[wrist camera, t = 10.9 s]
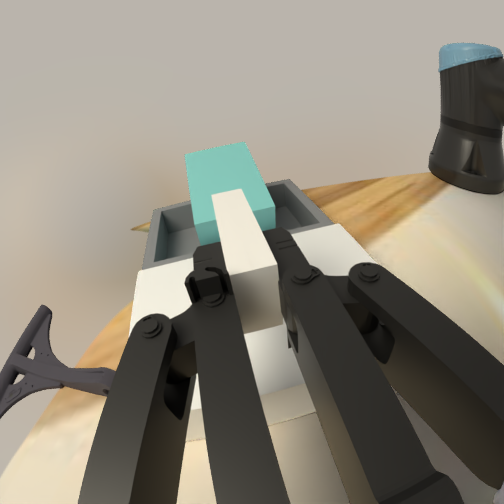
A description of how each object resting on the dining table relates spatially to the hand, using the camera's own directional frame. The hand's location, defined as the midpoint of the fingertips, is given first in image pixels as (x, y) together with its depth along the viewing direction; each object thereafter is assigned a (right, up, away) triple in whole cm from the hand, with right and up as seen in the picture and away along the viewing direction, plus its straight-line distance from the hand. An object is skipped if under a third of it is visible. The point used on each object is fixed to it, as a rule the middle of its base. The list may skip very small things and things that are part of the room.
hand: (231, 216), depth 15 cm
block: (0, -1, +8) cm, 9 cm away
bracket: (-14, -12, +3) cm, 19 cm away
